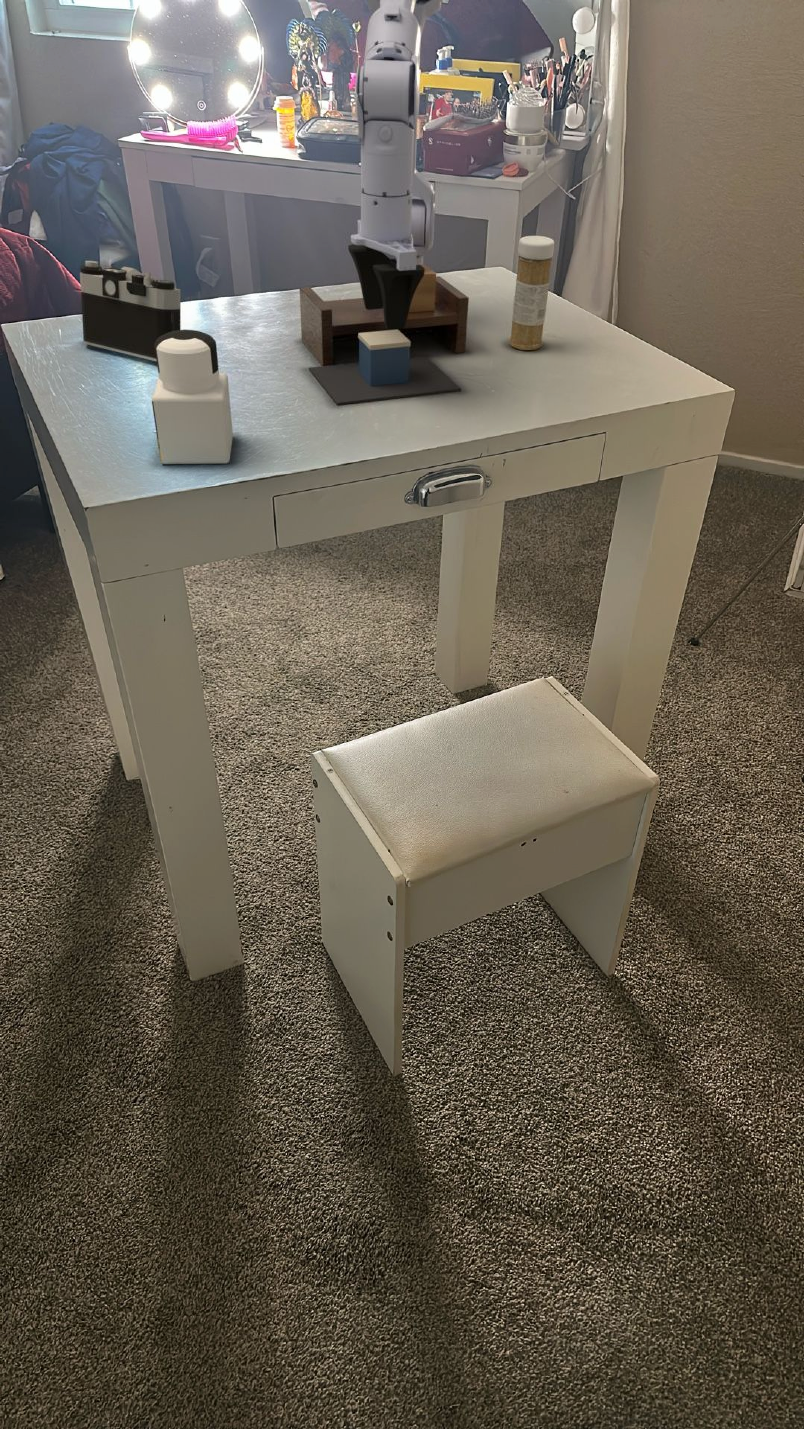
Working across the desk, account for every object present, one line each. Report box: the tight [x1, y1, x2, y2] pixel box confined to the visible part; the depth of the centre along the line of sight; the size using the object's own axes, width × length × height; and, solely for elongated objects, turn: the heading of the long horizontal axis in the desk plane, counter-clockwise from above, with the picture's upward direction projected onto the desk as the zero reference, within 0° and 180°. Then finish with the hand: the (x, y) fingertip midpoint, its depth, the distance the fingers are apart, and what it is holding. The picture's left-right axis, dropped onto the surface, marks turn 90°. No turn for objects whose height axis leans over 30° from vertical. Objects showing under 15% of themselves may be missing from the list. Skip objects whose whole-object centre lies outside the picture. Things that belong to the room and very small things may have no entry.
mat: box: [308, 355, 462, 406], centre depth 117 cm, size 12×16×1 cm
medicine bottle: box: [151, 329, 234, 465], centre depth 96 cm, size 7×7×12 cm
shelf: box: [299, 276, 470, 366], centre depth 124 cm, size 10×20×7 cm, turn 111°
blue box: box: [357, 330, 412, 386], centre depth 115 cm, size 5×5×5 cm
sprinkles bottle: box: [509, 235, 555, 351], centre depth 124 cm, size 5×5×13 cm
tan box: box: [409, 263, 437, 313], centre depth 122 cm, size 4×4×5 cm
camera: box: [79, 260, 182, 362], centre depth 121 cm, size 15×11×10 cm
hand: (384, 318), depth 112 cm, fingers open, 7 cm apart
